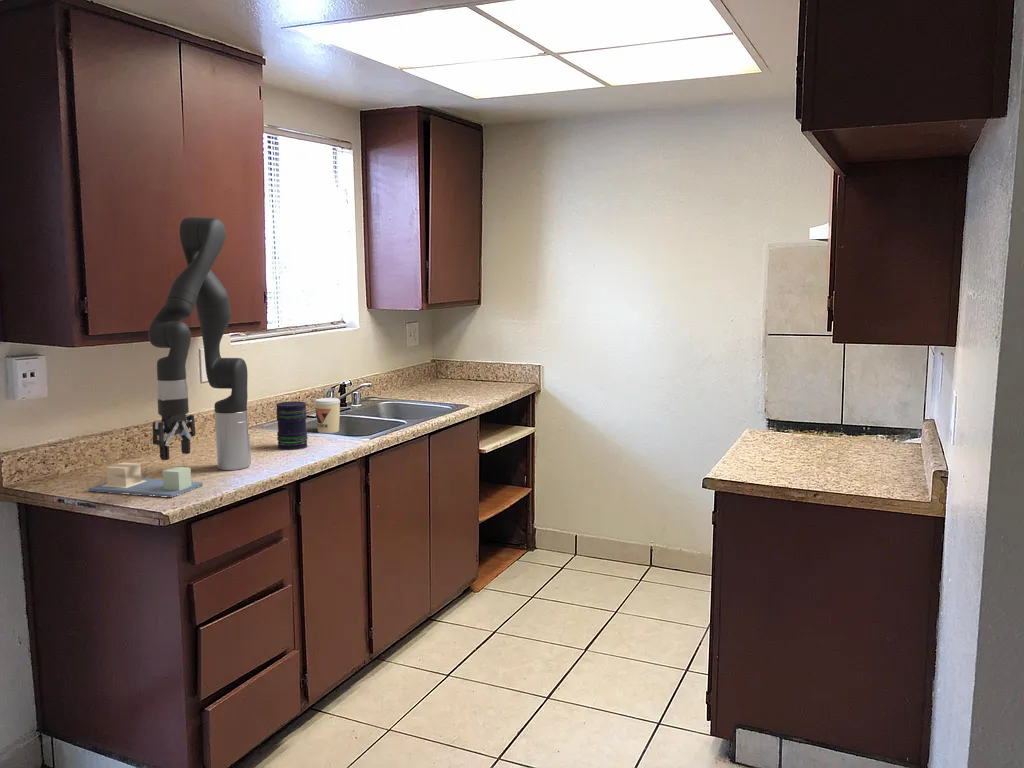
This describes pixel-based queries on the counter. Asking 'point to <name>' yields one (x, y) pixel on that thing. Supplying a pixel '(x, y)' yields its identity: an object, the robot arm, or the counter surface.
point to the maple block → (123, 474)
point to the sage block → (176, 478)
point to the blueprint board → (143, 488)
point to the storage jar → (291, 425)
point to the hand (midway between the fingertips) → (175, 456)
